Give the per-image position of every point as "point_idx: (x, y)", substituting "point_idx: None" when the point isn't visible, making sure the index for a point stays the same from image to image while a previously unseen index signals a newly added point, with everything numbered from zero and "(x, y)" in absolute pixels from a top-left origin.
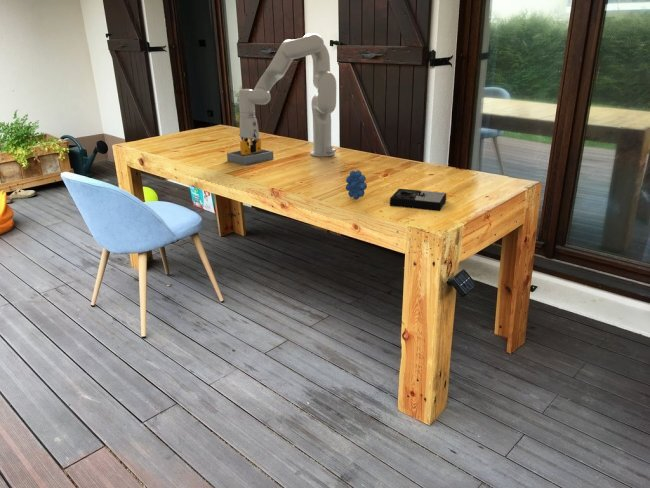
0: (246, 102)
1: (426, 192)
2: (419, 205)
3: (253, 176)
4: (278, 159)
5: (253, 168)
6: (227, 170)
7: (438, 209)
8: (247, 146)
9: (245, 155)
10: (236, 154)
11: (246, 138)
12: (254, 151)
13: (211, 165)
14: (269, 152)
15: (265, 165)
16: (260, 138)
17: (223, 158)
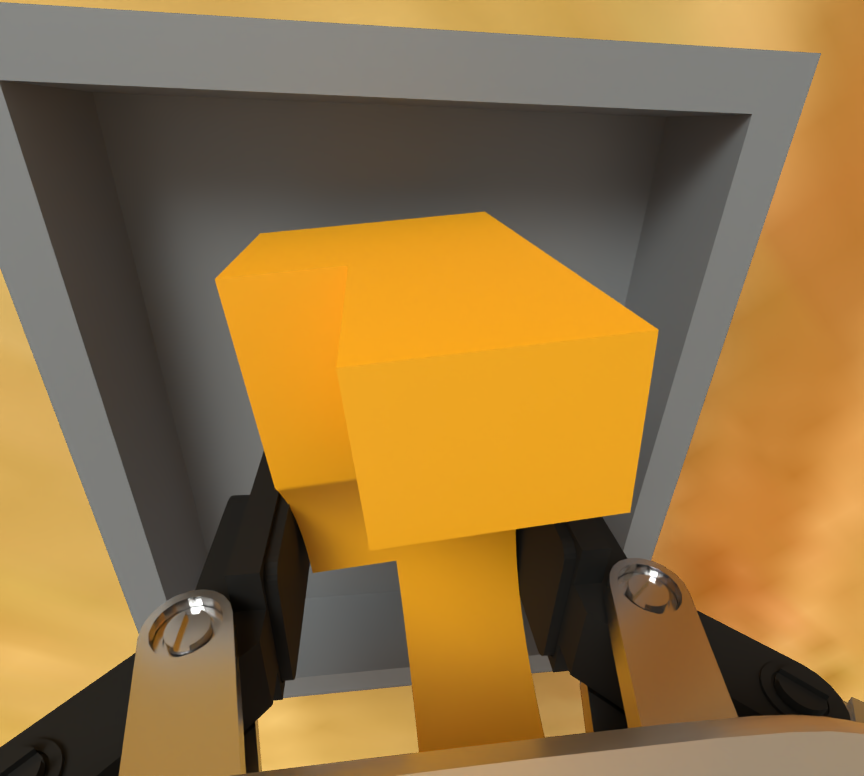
0: None
1: None
2: None
3: (851, 680)
4: (799, 26)
5: (718, 579)
6: (546, 726)
7: None
8: (531, 696)
9: (158, 354)
10: (182, 552)
11: (170, 760)
12: None
13: (277, 748)
14: (765, 195)
15: (778, 439)
16: (652, 335)
17: (16, 576)
